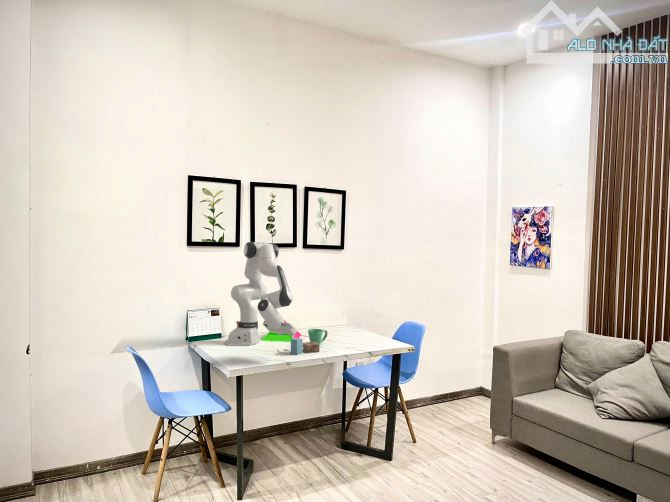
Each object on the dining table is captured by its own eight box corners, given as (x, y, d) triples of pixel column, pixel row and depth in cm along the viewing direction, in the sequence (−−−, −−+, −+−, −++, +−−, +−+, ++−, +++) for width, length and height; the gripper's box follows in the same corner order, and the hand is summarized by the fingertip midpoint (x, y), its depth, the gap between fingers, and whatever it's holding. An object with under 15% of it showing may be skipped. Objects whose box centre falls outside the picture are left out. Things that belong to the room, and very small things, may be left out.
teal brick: (297, 355, 286) (297, 340, 286) (290, 353, 289) (290, 339, 288) (302, 353, 290) (302, 338, 290) (295, 352, 293) (296, 337, 293)
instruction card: (280, 352, 291) (280, 352, 291) (276, 350, 297) (276, 349, 297) (295, 351, 295) (295, 350, 295) (291, 348, 301) (291, 348, 301)
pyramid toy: (268, 333, 346) (269, 314, 346) (302, 335, 343) (303, 315, 343) (259, 341, 321) (259, 320, 321) (295, 343, 318) (296, 322, 318)
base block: (307, 353, 291) (307, 345, 290) (302, 350, 298) (303, 342, 298) (319, 352, 294) (319, 344, 294) (314, 349, 301) (314, 341, 301)
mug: (314, 348, 304) (314, 332, 304) (304, 345, 311) (305, 329, 311) (331, 344, 314) (331, 329, 313) (321, 342, 321) (322, 327, 321)
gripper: (292, 319, 269) (302, 333, 277) (265, 315, 280) (276, 329, 289) (287, 328, 265) (297, 342, 274) (260, 323, 277) (271, 337, 285)
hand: (286, 335), depth 281 cm, fingers open, 8 cm apart
